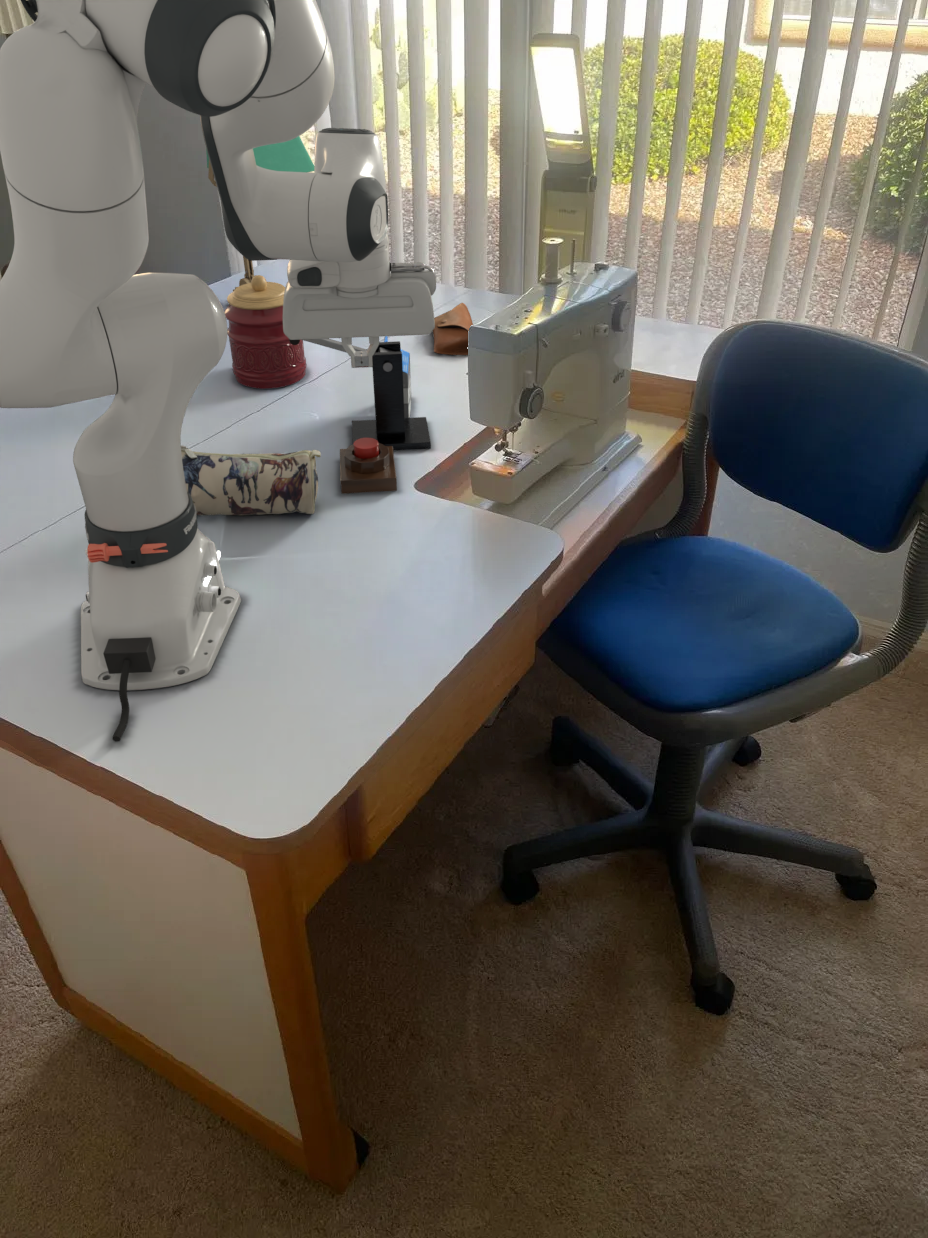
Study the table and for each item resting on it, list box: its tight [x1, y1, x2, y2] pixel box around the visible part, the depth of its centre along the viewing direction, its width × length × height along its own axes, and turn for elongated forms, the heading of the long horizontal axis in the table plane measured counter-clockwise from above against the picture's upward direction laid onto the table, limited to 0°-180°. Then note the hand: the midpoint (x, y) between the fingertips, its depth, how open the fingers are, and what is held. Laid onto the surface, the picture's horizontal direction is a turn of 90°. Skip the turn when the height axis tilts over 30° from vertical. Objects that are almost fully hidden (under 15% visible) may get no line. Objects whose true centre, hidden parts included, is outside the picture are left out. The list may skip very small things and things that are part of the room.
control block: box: [339, 443, 398, 495], centre depth 143 cm, size 10×8×4 cm
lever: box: [289, 338, 395, 354], centre depth 144 cm, size 16×5×2 cm, turn 98°
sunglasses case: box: [432, 302, 474, 356], centre depth 187 cm, size 18×7×7 cm
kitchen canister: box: [224, 274, 308, 390], centre depth 168 cm, size 13×13×18 cm
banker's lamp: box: [205, 135, 314, 306], centre depth 187 cm, size 16×21×35 cm
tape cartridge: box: [383, 336, 412, 418], centre depth 158 cm, size 9×4×12 cm, turn 0°
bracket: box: [351, 340, 432, 452], centre depth 149 cm, size 12×9×15 cm
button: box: [354, 438, 379, 459], centre depth 141 cm, size 4×4×2 cm
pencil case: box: [181, 444, 322, 516], centre depth 133 cm, size 22×8×10 cm, turn 90°
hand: (362, 365), depth 134 cm, fingers closed
